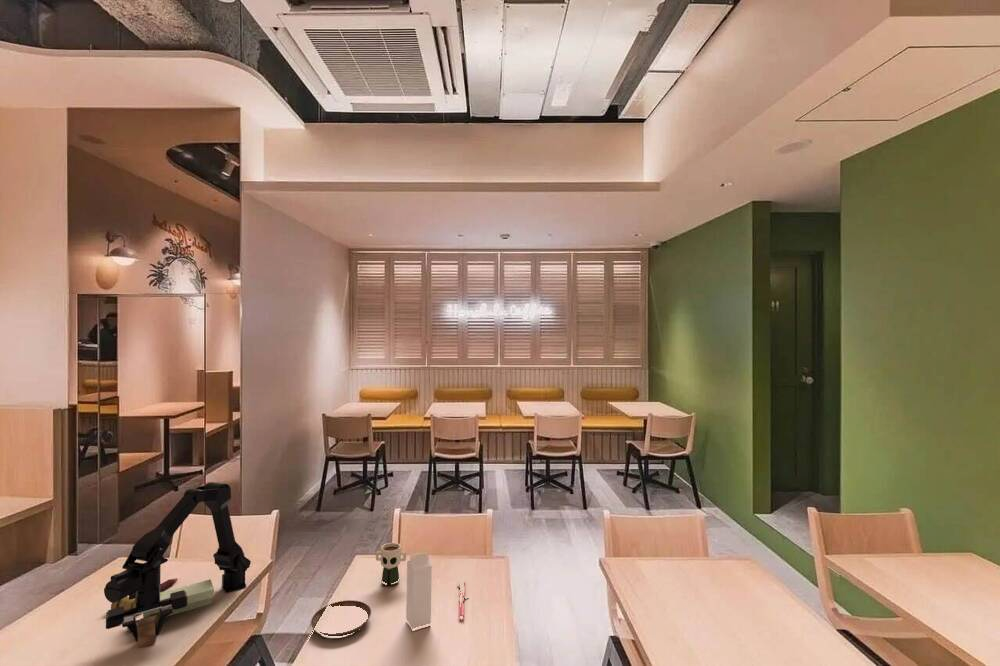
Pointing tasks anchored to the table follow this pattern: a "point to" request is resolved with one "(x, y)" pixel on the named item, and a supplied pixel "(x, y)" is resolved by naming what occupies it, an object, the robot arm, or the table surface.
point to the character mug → (390, 561)
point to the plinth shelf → (189, 596)
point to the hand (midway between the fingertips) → (147, 638)
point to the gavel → (131, 603)
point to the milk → (419, 590)
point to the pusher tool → (147, 630)
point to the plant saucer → (342, 603)
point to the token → (136, 624)
